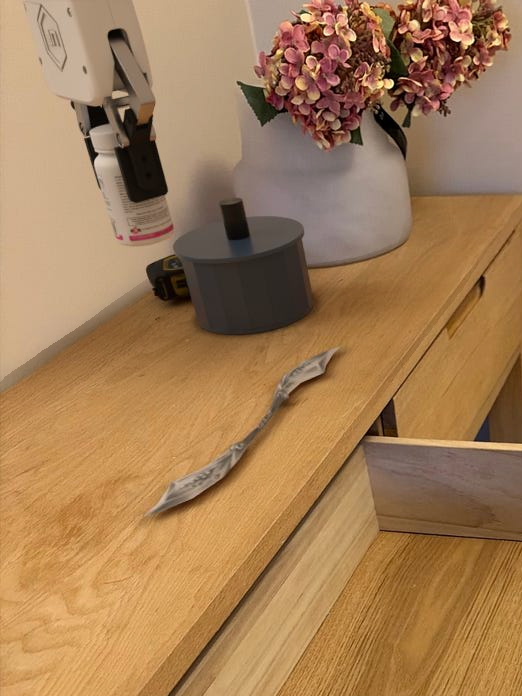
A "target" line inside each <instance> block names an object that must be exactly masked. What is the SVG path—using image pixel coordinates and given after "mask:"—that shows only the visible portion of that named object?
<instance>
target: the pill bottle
mask: <svg viewBox="0 0 522 696" xmlns="http://www.w3.org/2000/svg"><path fill="white" fill-rule="evenodd" d="M89 133H90V136H89V137H91V140H92V144H93V147H94V148H95V151H96V152H98V153H99V155H98V156H97V157H96V159H95V161H94V166H95V170H96V174H97V177H98V181H99V184H100V187H101V189H100V191H101V194H102V196H103V201H104V203H105V206H106V210H107V213H108V216H109V220H110V223H111V226H112V230H113V233H114V236H115V238H116V242H117V243H118V244H119V245H122V246H125V247H146V246H151V245H155V244H159V243H161V242H164V241H166V240H168V239H170V238H171V237H173V235H174V234H175V225H174V222H173V220H172V216H171V211H170V208H169V206H168V205H169V204H168V200H167V197H166V195H163V196H160V197H156V198H152V199H149V200H145V201H142V202H138V203H134V202H132V201H130V200H129V198H128V195H127V192H126V188H125V185H124V181H123V178H122V174H121V171H120V168H119V164H118V161H117V157H116V154H115V150H114V147H118V146H119V145H118V143H117V140H116V138H115V135H114V133H113V130H112V127H111V125H110V124H105V125H101V126H98V127H95V128H93V129H91V130H90V132H89Z"/></svg>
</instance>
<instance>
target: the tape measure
mask: <svg viewBox="0 0 522 696" xmlns="http://www.w3.org/2000/svg"><path fill="white" fill-rule="evenodd" d="M145 273H146V276H147V279H148V281H149V284H150V285H151V286H152V288H151V290H152V291H153V295H154V296H155V297H158V298H159V300H160V301H163V302H167V301H171V300H173V299H174V298H185V297H191V295H190V292H189V288H188V284H187V281H186V277H185V273H184V269H183V266H182V262H181V259H180V258H178V257H177V256H176V255H175V253H174V254H170V255H168V256H165V257H163V258H160V259H158V260H154V261H153V262H151V263H149V264H148V265H146V267H145Z"/></svg>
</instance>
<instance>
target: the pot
mask: <svg viewBox="0 0 522 696" xmlns="http://www.w3.org/2000/svg"><path fill="white" fill-rule="evenodd" d="M181 262H182V266H183V269H184V273H185V277H186V281H187V284H188V288H189V292H190V295H191V296H190V299H191V303H192V306H193V310H194V315H195V317H196V321H197V324H198V325H199V326H200V327H201V329H204V330H205V331H207V332H210V333H214V334H220V335H234V336H235V335H252V334H258V333H264V332H268V331H273V330H276V329H280V328H283V327H286V326H289V325H291V324H293V323H295V322H298V321H299V320H301V319H303V318H304V317H306V316H307V315H308V314H309V313H310V312H311V311H312V310H313V309H312V308H313V307H314V296H313V295H314V294H313V290H312V284H311V279H310V274H309V270H308V264H307V258H306V253H305V247H304V242H303V238H302V239H301V240H300V241H299V242H298V243H296V244H295V245H293V246H291V247H290V248H288V249H285V250H283V251H281V252H278V253H275V254H272V255H269V256H265V257H261V258H257V259H253V260H247V261H241V262H234V263H222V264H203V263H194V262H189V261H185V260H182V259H181Z"/></svg>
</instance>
